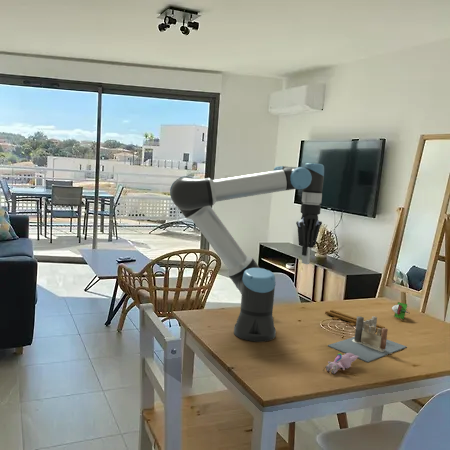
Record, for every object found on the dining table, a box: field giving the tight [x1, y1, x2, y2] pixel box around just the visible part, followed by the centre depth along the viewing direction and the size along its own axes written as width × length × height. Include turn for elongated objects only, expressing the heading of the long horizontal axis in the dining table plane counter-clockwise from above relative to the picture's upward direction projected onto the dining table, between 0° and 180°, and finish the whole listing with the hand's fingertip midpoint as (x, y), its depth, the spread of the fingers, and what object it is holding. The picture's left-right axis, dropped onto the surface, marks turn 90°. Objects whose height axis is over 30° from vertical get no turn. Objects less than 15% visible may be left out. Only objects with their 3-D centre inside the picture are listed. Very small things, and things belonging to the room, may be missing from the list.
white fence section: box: [354, 315, 378, 342], centre depth 173 cm, size 12×2×9 cm, turn 130°
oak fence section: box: [361, 324, 388, 349], centre depth 166 cm, size 9×2×7 cm, turn 45°
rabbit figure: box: [322, 352, 359, 376], centre depth 147 cm, size 6×6×15 cm
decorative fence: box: [324, 309, 386, 332], centre depth 194 cm, size 25×2×10 cm
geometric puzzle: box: [391, 301, 409, 320], centre depth 205 cm, size 7×7×8 cm
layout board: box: [327, 336, 408, 363], centre depth 167 cm, size 25×16×1 cm, turn 130°
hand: (305, 263), depth 185 cm, fingers closed
